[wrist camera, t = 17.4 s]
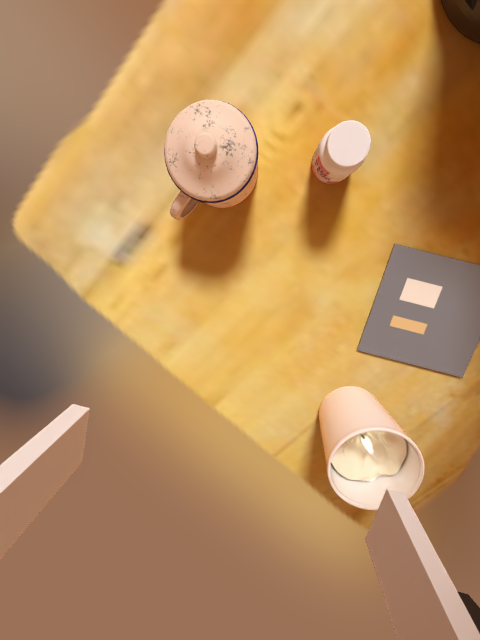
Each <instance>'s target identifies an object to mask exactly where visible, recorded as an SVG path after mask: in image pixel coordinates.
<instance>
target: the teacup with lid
mask: <svg viewBox="0 0 480 640" xmlns="http://www.w3.org/2000/svg"><path fill="white" fill-rule="evenodd" d="M164 155H165V163H166V167H167V170H168V173H169V175H170V177H171V179H172V180H173V182H174V183H175V185H176V186H177V187H178V188H179V189H180V190H181V192H180V193H179V194H178V196H177V197H176V199H175V200H174V202H173V204H172V206H171V209H170V214H171V216H172V217H173V218H175V219H176V220H181V219H183V218H185V217H186V216H188V215H189V214H190V213H191V212H192V211H193V210H194V209H195V207H196V206H197V205H198V203H199V202H204V203H206V204H208V205H210V206H213V207H218V208H227V207H231V206H234V205H237V204H239V203H240V202H242V201H243V200H244V199H245V198H246V197H247V196H248V195H249V194H250V193H251V191H252V190H253V188H254V186H255V183H256V180H257V176H258V161H257V160H258V143H257V138H256V135H255V132H254V129H253V127H252V125H251V123H250V122H249V120H248V119H247V118H246V116H245V115H244V114H243V113H242V112H241V111H240V110H238V109H237V108H236V107H234V106H233V105H231V104H229V103H226V102H223V101H219V100H203V101H198V102H195V103H193V104H191V105H189V106H187V107H186V108H185V109H183V110H182V111H181V112H180V113H179V114H178V115H177V116H176V117H175V119H174V120H173V122H172V123H171V125H170V127H169V130H168V132H167V136H166V140H165V148H164Z"/></svg>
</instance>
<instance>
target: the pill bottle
mask: <svg viewBox="0 0 480 640" xmlns="http://www.w3.org/2000/svg"><path fill="white" fill-rule="evenodd" d="M370 145H371V138H370V134H369V131H368V130H367V128H366V127H365V126H364V125H363V124H362V123H360V122H358V121H354V120H348V121H344V122H342V123H340V124H338V125H337V126H335V127H333V128H332V129H330V130H329V131H328V132H327V133H326V134H325V135H324V137H323V138H322V140H321V142H320V143H319V145H318V147H317V149H316V151H315V152H314V155H313V158H312V169H313V172H314V174H315V176H316V177H317V178H318V179H319V180H320V181H322V182H324V183H327V184H335V183H338V182H340V181H342V180H344V179H345V178H346V177H348V176H349V175H350V174H352V173H353V172H354V171H356V170H357V169H358V168H359V167H360V166H361V165H362V163H363V162H364V160H365V158H366V156H367V154H368V152H369V149H370Z"/></svg>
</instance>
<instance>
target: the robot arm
mask: <svg viewBox="0 0 480 640" xmlns="http://www.w3.org/2000/svg"><path fill="white" fill-rule="evenodd" d="M441 1H442V4H443V7H444V9H445V11H446V13H447V15H448V17H449V18H450V20H451V22H452V23H453V24H454V25H455V27H456V28H457V29H458V30H459V31H460V32H462V33H463V34H464V35H465V36H467V37H468V38H470V39H472V40H474V41H476V42H478V43H480V0H441ZM89 411H90V409H89V408H86V407H82V406H79V405H75V404H72V405H71V406H70V407H69V408H68V409H66V410H65V411H64V412H63V413H62V414H60V415H59V416H58V417H57V418H56V419H55V420H53V421H52V422H51V423H50V424H49V425H47V426H46V427H45V428H44V429H43V430H41V431H40V432H39V433H38V434H37V435H36V436H34V437H33V438H32V439H31V440H30V441H29V442H27V443H26V444H25V445H24V446H22V447H21V448H20V449H19V450H18V451H16V452H15V453H14V454H13V455H12V456H11V457H9V458H8V459H7V460H6V461H5V462H3V463H2V464H1V465H0V559H1V558H2V557H3V555H4V554H5V553H6V552H7V551H8V550H9V548H10V547H11V546H12V545H13V544H14V542H15V541H16V540H17V539H18V538H19V536H20V535H21V534H22V533H23V532H24V530H25V529H26V528H27V527H28V525H30V523H31V522H32V521H33V520H34V519H35V517H36V516H37V515H38V514H39V513H40V511H41V510H42V509H43V508H44V507H45V505H46V504H47V503H48V502H49V501H50V499H51V498H52V497H53V496H54V495H55V493H56V492H57V491H58V490H59V489H60V488H61V486H62V485H63V484H64V483H65V481H66V480H67V479H68V478H69V477H70V476H71V474H72V473H73V472H74V471H75V470H76V468H77V467H78V466H79V465H80V464H81V462H82V459H83V452H84V445H85V438H86V431H87V425H88V418H89ZM365 540H366V543H367V546H368V549H369V552H370V555H371V558H372V562H373V565H374V568H375V571H376V574H377V577H378V580H379V583H380V586H381V589H382V593H383V596H384V599H385V602H386V605H387V608H388V611H389V614H390V617H391V620H392V624H393V627H394V630H395V633H396V636H397V639H398V640H480V608H479V607H478V606H477V604H476V603H475V602H474V601H473V600H472V599H471V597H470V596H469V595H468V594H464V593H461V592H457V590H456V588H455V587H454V585H453V583H452V581H451V579H450V577H449V576H448V574H447V572H446V570H445V568H444V566H443V564H442V562H441V560H440V559H439V557H438V555H437V553H436V551H435V549H434V547H433V545H432V544H431V542H430V540H429V538H428V536H427V534H426V532H425V530H424V529H423V527H422V525H421V523H420V521H419V520H418V518H417V516H416V514H415V512H414V510H413V508H412V506H411V504H410V502H409V501H408V499H407V497H406V495H405V493H402V492H398V491H395V490H391V489H386V492H385V494H384V496H383V499H382V501H381V503H380V506H379V508H378V510H377V513H376V515H375V517H374V520H373V522H372V524H371V527H370V529H369V531H368V534H367V536H366V539H365Z"/></svg>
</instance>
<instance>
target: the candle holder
mask: <svg viewBox="0 0 480 640" xmlns="http://www.w3.org/2000/svg"><path fill="white" fill-rule="evenodd" d="M319 423H320V429H321V435H322V441H323V447H324V453H325V459H326V465H327V475H328V479H329V482H330V485H331V487H332V488H333V490H334V491H335V493H336V494H337V495H338V496H339V497H340V498H341V499H342V500H344V501H345V502H347V503H348V504H350V505H352V506H355V507H358V508H361V509H366V510H378V508H379V506H380V503H381V501H382V499H383V496H384V494H385V492H386V489H391V490H395V491H398V492H402V493H405V495H406V497H407V499H409V498H410V497H412V496H413V495H414V493H415V492H416V491H417V490H418V488H419V487H420V485H421V483H422V480H423V477H424V471H425V465H424V459H423V456H422V454H421V451H420V450H419V448H418V447H417V445H416V444H415V443H414V442H413V441H412V440H411V439H410V438H409V437H408V436H407V434H406V433H405V432H404V431H403V430H402V428H401V427H400V426H399V425H398V424H397V422H396V421H395V420H394V419H393V418H392V416H391V415H390V414H389V413H388V412H387V411H386V409H385V408H384V407H383V406H382V405H381V403H380V402H379V401H378V400H377V399H376V398H375V397H374V396H373V395H372V394H371V393H370V392H368V391H367V390H365V389H363V388H360V387H356V386H345V387H340V388H337V389H335V390H333V391H332V392H330V393H329V394H328V395H327V396H326V397H325V398H324V399H323V401H322V403H321V405H320V408H319Z"/></svg>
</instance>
